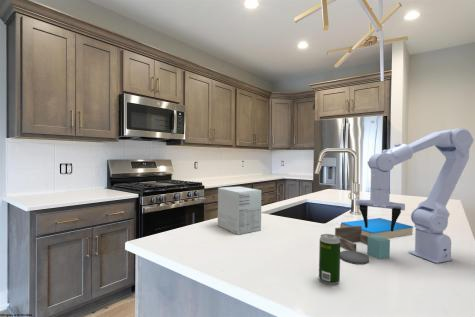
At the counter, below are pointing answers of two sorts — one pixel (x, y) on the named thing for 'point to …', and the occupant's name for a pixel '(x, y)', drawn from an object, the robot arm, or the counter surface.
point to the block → (378, 247)
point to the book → (381, 228)
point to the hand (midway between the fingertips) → (378, 228)
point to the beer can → (329, 259)
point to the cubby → (350, 236)
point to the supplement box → (239, 209)
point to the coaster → (354, 257)
